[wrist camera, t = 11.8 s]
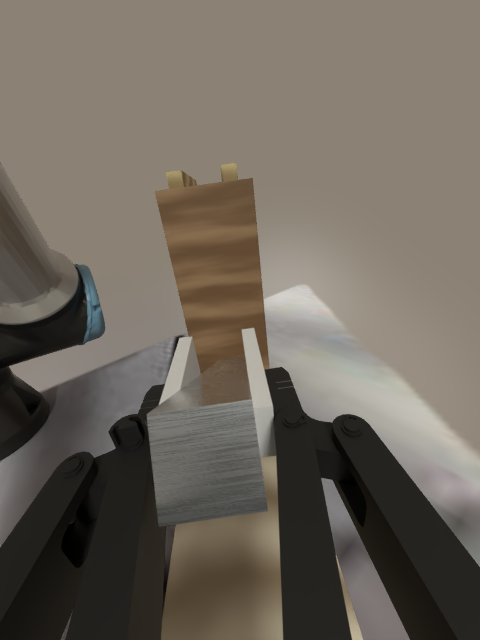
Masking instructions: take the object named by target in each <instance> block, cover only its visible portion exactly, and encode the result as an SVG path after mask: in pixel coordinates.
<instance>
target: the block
mask: <svg viewBox="0 0 480 640" xmlns="http://www.w3.org/2000/svg"><path fill="white" fill-rule="evenodd" d="M147 423H148V433H149V442H150V451H151V460H152V470H153V479H154V488H155V497H156V507H157V516H158V525H159V527H162V526H169V525H176V524H183V523H190V522H197V521H204V520H211V519H218V518H225V517H232V516H238V515H245V514H252V513H259V512H266V511H268V507H267V500H266V493H265V486H264V479H263V472H262V465H261V458H260V451H259V444H258V437H257V430H256V423H255V416H254V409H253V402H252V396H251V390H250V384H249V379H248V372H247V366H246V359H245V356H242V357H235V358H228V359H221V360H219V361H218V362H216V363H215V364H214V365H212V366H211V367H210V368H208V369H207V370H206V371H204V372H203V373H202V374H200V375H199V376H198V377H197V378H195V379H194V380H193V381H191V382H190V383H189V384H187V385H186V386H185V387H183V388H182V389H180V390H179V391H177V392H176V393H175V394H173V395H172V396H171V397H169V398H168V399H167V400H165V401H164V402H163V403H161V404H160V405H159V406H157V407H156V408H155V409H153V410H152V411H150V412H149V413H148V414H147Z"/></svg>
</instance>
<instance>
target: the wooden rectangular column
mask: <svg viewBox="0 0 480 640" xmlns="http://www.w3.org/2000/svg"><path fill="white" fill-rule="evenodd" d="M166 175H167V180H168V185H169V189H167V190H160V191H155V194H156V199H157V203H158V207H159V211H160V216H161V220H162V224H163V228H164V233H165V237H166V241H167V245H168V250H169V253H170V258H171V262H172V267H173V271H174V275H175V279H176V284H177V287H178V292H179V296H180V301H181V305H182V309H183V313H184V318H185V322H186V326H187V330H188V335H189V337H191V336H192V338H193V342H194V347H195V351H196V355H197V360H198V364H199V368H200V373H201V374H202V373H203V372H204V371H206V370H207V369H208V368H210V367H211V366H212V365H214V364H215V363H216V362H218V361H219V360H221V359H228V358H235V357H242V356H245V351H244V344H243V337H242V329H249V328H254V330H255V334H256V338H257V342H258V347H259V351H260V355H261V359H262V363H263V367H264V370H265V369H269V358H268V347H267V336H266V324H265V313H264V302H263V290H262V281H261V280H262V279H261V268H260V257H259V246H258V234H257V222H256V212H255V200H254V189H253V178H249V179H242V180H238V176H237V168H236V163H232V164H225V165H221V176H222V182H219V183H212V184H204V185H197V184H196V180H194V179H193V178H192V177H190V176H189V175H187V174H186V173H184V172H183V171H181V170H180V171H172V172H166Z"/></svg>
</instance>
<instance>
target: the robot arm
mask: <svg viewBox="0 0 480 640" xmlns="http://www.w3.org/2000/svg"><path fill="white" fill-rule="evenodd" d="M104 331H105V323H104V317H103V313H102V309H101V307H100V302H99V298H98V294H97V290H96V287H95V283H94V280H93V277H92V275H91V272H90V269H89V268H88V267H87V266H85V265H78V264H75V265H73V263H72V262H71V261H70V260H69V259H68V258H67V257H66V256H64V255H63V254H61V253H59V252H57V251H54V250H52V249H50V248H49V246H48V245H47V243H46V241H45V239H44V238H43V236H42V234H41V232H40V231H39V229H38V227H37V225H36V224H35V222H34V220H33V219H32V217H31V215H30V213H29V211H28V210H27V208H26V206H25V205H24V203H23V201H22V199H21V198H20V196H19V194H18V192H17V191H16V189H15V187H14V185H13V184H12V182H11V180H10V178H9V177H8V175H7V173H6V171H5V170H4V168H3V166H2V164H1V163H0V460H2V459H3V458H5V457H6V456H8V455H9V454H11V453H12V452H14V451H15V450H17V449H18V448H19V447H21V446H22V445H23V444H24V443H26V442H27V441H28V440H29V439H30V438H31V437H32V436H33V435H34V434H35V433H36V432H37V431H38V430H39V429H40V427H41V426H42V425H43V423H44V422H45V420H46V418H47V416H48V413H49V406H48V404H47V403H46V401H45V399H44V397H43V396H42V395H41V394H40V393H39V392H38V391H36V390H35V389H34V388H32V387H31V386H29V385H28V384H27V383H25V382H24V381H23V380H21V379H20V378H18V377H17V376H16V375H14V374H13V372H12V371H11V369H10V368H9V366H10V365H13V364H17V363H20V362H23V361H27V360H30V359H33V358H36V357H39V356H43V355H46V354H49V353H52V352H56V351H59V350H62V349H66V348H69V347H72V346H76V345H83V344H85V343H86V342H88V341H91V340H94V339H96V338H99V337H101V336H102V335H103V333H104ZM242 337H243V344H244V351H245V359H246V366H247V372H248V379H249V384H250V390H251V396H252V402H253V409H254V416H255V423H256V430H257V437H258V444H259V451H260V458H263V457H270V456H276V463H277V489H278V516H279V542H280V569H281V595H282V622H283V640H352V636H351V631H350V626H349V621H348V616H347V610H346V605H345V600H344V595H343V590H342V585H341V579H340V574H339V569H338V564H337V559H336V553H335V548H334V543H333V538H332V533H331V527H330V522H329V517H328V512H327V507H326V501H325V496H324V491H323V486H322V481H321V478H326V479H331V480H333V482H334V484H335V486H336V488H337V490H338V492H339V494H340V496H341V498H342V500H343V503H344V505H345V507H346V509H347V511H348V513H349V515H350V517H351V519H352V521H353V523H354V525H355V527H356V529H357V531H358V533H359V535H360V537H361V540H362V542H363V544H364V546H365V548H366V550H367V552H368V554H369V556H370V558H371V560H372V562H373V564H374V566H375V568H376V570H377V572H378V574H379V576H380V579H381V581H382V583H383V585H384V587H385V589H386V591H387V593H388V595H389V597H390V599H391V601H392V603H393V605H394V607H395V609H396V611H397V613H398V615H399V618H400V620H401V622H402V624H403V626H404V628H405V630H406V632H407V634H408V636H409V638H410V640H480V567H479V566H478V564H477V563H476V562H475V560H474V559H473V558H472V557H471V555H470V554H469V553H468V551H467V550H466V549H465V547H464V546H463V545H462V544H461V542H460V541H459V540H458V538H457V537H456V536H455V535H454V533H453V532H452V531H451V529H450V528H449V527H448V526H447V524H446V523H445V522H444V520H443V519H442V518H441V517H440V515H439V514H438V513H437V511H436V510H435V509H434V508H433V506H432V505H431V504H430V502H429V501H428V500H427V498H426V497H425V496H424V495H423V493H422V492H421V491H420V489H419V488H418V487H417V486H416V484H415V483H414V482H413V480H412V479H411V478H410V477H409V475H408V474H407V473H406V471H405V470H404V469H403V468H402V466H401V465H400V464H399V462H398V461H397V460H396V459H395V457H394V456H393V455H392V453H391V452H390V451H389V450H388V448H387V447H386V446H385V444H384V443H383V442H382V440H381V439H380V438H379V437H378V435H377V434H376V433H375V431H374V430H373V429H372V428H371V426H370V425H369V424H368V423H367V422H366V421H365V420H364V419H362V418H360V417H358V416H355V415H350V414H345V415H340V416H338V417H336V418H335V419H334V421H333V423H331V422H323V421H318V420H315V419H312V418H311V417H309V416H308V415H307V414H306V413H305V412H304V411H303V409H302V407H301V404H300V402H299V399H298V397H297V394H296V391H295V389H294V387H293V383H292V381H291V378H290V375H289V373H288V372H287V371H286V370H285V369H284V368H282V367H280V368H272V369H265V370H264V367H263V363H262V359H261V355H260V351H259V347H258V342H257V338H256V334H255V330H254V328H249V329H242ZM200 374H201V373H200V368H199V364H198V360H197V355H196V351H195V347H194V342H193V338H192V336H191V337H184V338H180V339H179V342H178V345H177V348H176V351H175V355H174V358H173V361H172V364H171V367H170V370H169V374H168V377H167V380H166V383H165V384H163V385H155V386H152V387H151V388H150V390H149V391H148V392H147V393H146V395H145V397H144V400H143V403H142V405H141V407H140V408H141V409H140V410H139V412H138V414H132V415H128V416H125V417H123V418H121V419H120V420H118V421H117V422H116V423H115V424H114V425H113V426H112V427H111V429H110V430H109V434H110V436H111V438H112V441H113V443H114V445H115V447H116V449H114V450H112V451H110V452H108V453H106V454H103V455H101V456H98V457H96V458H94V457H93V456H92V455H91V454H90V453H89V452H80V453H76V454H74V455H72V456H70V457H68V458H67V459H66V460H64V461H63V462H62V463H61V464H60V465H59V466H58V467H57V468H56V470H55V471H54V472H53V474H52V475H51V477H50V478H49V480H48V481H47V482H46V484H45V485H44V487H43V488H42V490H41V491H40V492H39V494H38V495H37V497H36V498H35V499H34V501H33V502H32V504H31V505H30V507H29V508H28V509H27V511H26V512H25V514H24V515H23V516H22V518H21V519H20V521H19V522H18V524H17V525H16V526H15V528H14V529H13V531H12V532H11V533H10V535H9V536H8V538H7V539H6V541H5V542H4V543H3V545H2V546H1V548H0V640H60V639H61V637H62V634H63V632H64V630H65V627H66V625H67V622H68V620H69V618H70V615H71V613H72V611H73V613H72V617H71V621H70V624H69V628H68V632H67V636H66V640H161V632H162V608H163V584H164V560H165V536H166V526H162V527H159V525H158V516H157V507H156V497H155V488H154V479H153V470H152V460H151V451H150V442H149V433H148V423H147V414H148V413H149V412H150V411H152V410H153V409H155V408H156V407H157V406H159V405H160V404H161V403H163V402H164V401H165V400H167V399H168V398H169V397H171V396H172V395H173V394H175V393H176V392H177V391H179V390H180V389H182V388H183V387H185V386H186V385H187V384H189V383H190V382H191V381H193V380H194V379H195V378H197V377H198V376H199V375H200ZM73 608H74V609H73Z"/></svg>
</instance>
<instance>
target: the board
mask: <svg viewBox="0 0 480 640" xmlns="http://www.w3.org/2000/svg"><path fill="white" fill-rule="evenodd" d="M261 465H262V472H263V479H264V486H265V493H266V500H267V507H268V511H266V512H259V513H252V514H245V515H238V516H232V517H225V518H218V519H211V520H204V521H197V522H190V523H183V524H176V526H175V533H174V540H173V547H172V554H171V561H170V568H169V575H168V582H167V589H166V596H165V603H164V610H163V617H162V632H161V640H283V622H282V595H281V569H280V542H279V516H278V489H277V463H276V456H270V457H263V458H261ZM336 559H337V556H336ZM337 564H338V569H339V574H340V579H341V585H342V590H343V595H344V600H345V605H346V610H347V616H348V621H349V626H350V631H351V636H352V640H363V638H362V635H361V632H360V628H359V625H358V622H357V619H356V616H355V613H354V610H353V606H352V603H351V600H350V597H349V594H348V591H347V588H346V584H345V581H344V578H343V575H342V572H341V569H340V566H339V562H338V559H337Z"/></svg>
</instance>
